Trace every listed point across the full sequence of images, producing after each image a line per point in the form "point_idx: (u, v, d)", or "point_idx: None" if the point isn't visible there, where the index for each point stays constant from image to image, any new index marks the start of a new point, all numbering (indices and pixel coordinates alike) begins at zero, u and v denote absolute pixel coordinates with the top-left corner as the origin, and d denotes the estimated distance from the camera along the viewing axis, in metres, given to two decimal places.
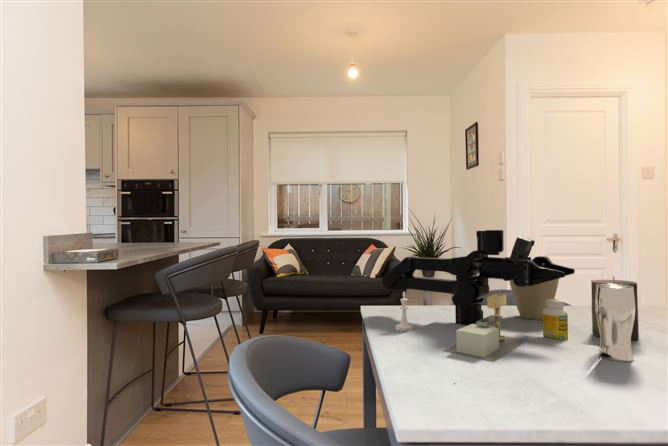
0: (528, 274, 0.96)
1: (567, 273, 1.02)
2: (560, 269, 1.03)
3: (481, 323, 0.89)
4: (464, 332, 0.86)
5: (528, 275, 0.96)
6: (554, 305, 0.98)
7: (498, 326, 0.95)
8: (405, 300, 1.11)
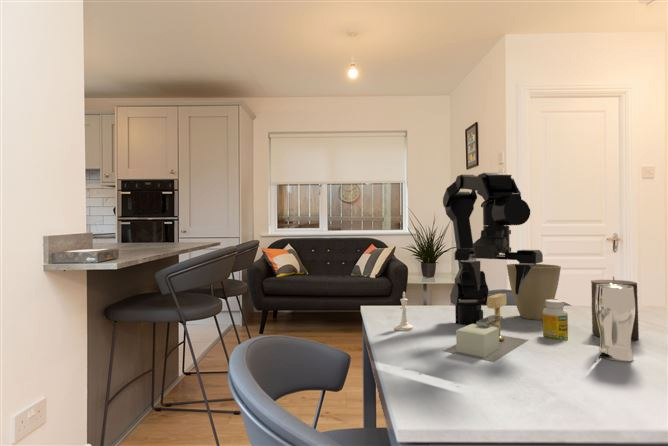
0: None
1: None
2: None
3: (481, 323, 0.89)
4: (464, 332, 0.86)
5: None
6: (554, 305, 0.98)
7: (498, 326, 0.95)
8: (405, 300, 1.11)
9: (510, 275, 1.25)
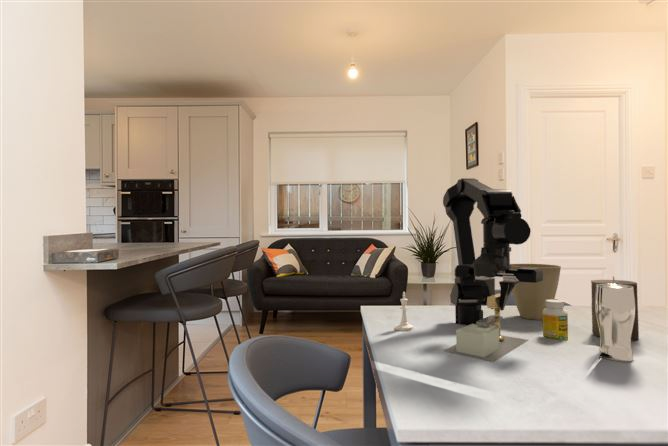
0: None
1: None
2: None
3: (481, 323, 0.89)
4: (464, 332, 0.86)
5: None
6: (554, 305, 0.98)
7: (498, 326, 0.95)
8: (405, 300, 1.11)
9: None
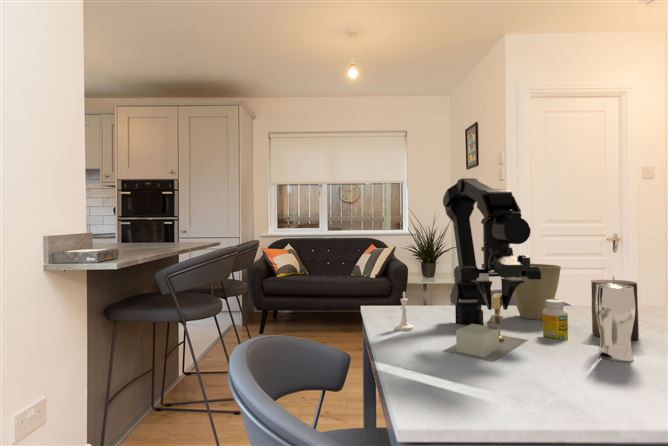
0: (474, 280, 0.96)
1: (503, 302, 0.96)
2: (506, 296, 0.95)
3: (493, 324, 0.88)
4: (464, 332, 0.86)
5: (474, 280, 0.96)
6: (554, 305, 0.98)
7: None
8: (405, 300, 1.11)
9: None
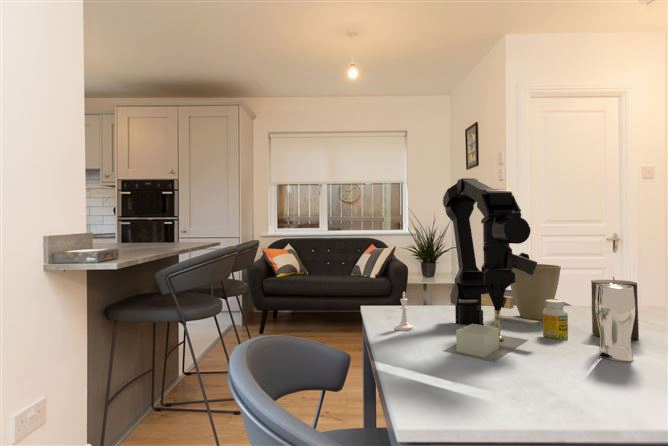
0: (497, 282, 0.91)
1: None
2: None
3: (536, 323, 0.89)
4: (464, 332, 0.86)
5: (496, 282, 0.91)
6: (554, 305, 0.98)
7: None
8: (405, 300, 1.11)
9: None
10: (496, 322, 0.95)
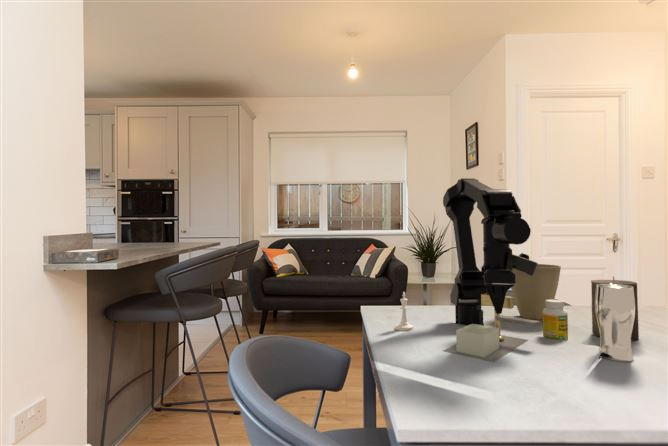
0: (498, 285, 0.88)
1: None
2: None
3: (536, 323, 0.89)
4: (464, 332, 0.86)
5: (497, 285, 0.88)
6: (554, 305, 0.98)
7: None
8: (405, 300, 1.11)
9: None
10: (496, 322, 0.95)
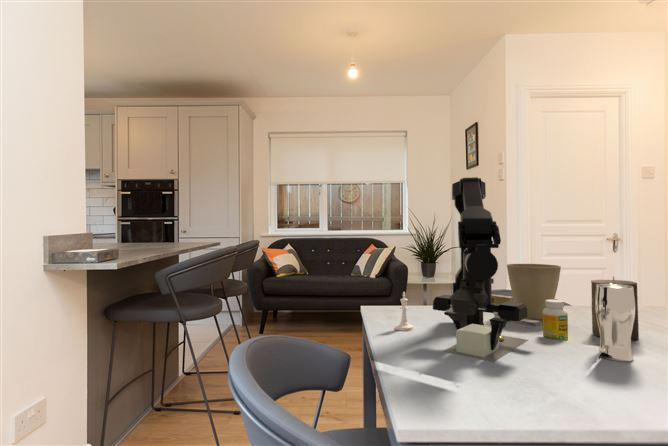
0: None
1: None
2: None
3: (536, 323, 0.89)
4: (464, 332, 0.86)
5: None
6: (554, 305, 0.98)
7: None
8: (405, 300, 1.11)
9: (510, 275, 1.25)
10: None
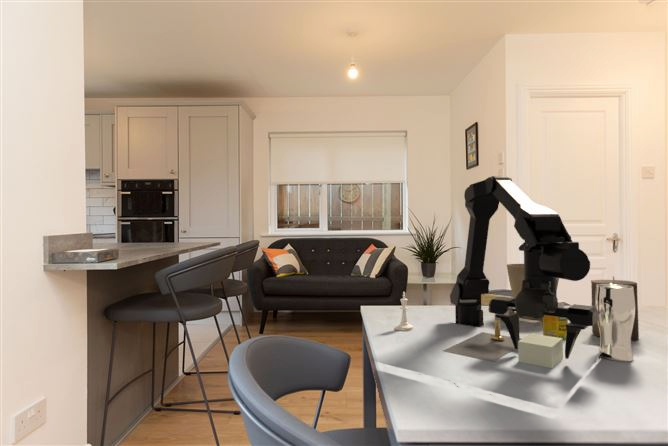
0: None
1: None
2: None
3: (536, 323, 0.89)
4: (528, 343, 0.79)
5: None
6: None
7: None
8: (405, 300, 1.11)
9: (510, 275, 1.25)
10: (496, 322, 0.95)
